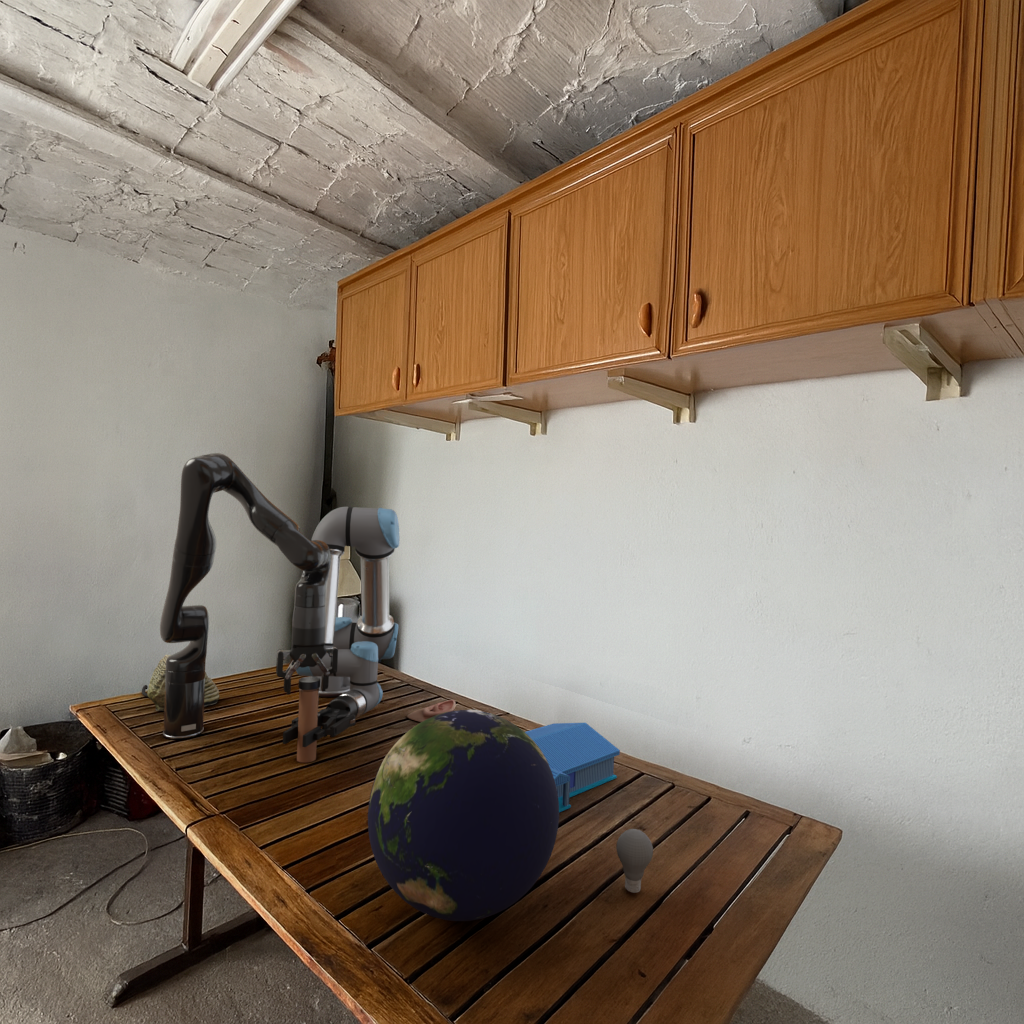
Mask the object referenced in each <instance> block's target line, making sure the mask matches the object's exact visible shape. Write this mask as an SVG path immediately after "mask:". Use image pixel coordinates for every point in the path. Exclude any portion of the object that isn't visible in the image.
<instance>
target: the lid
mask: <svg viewBox="0 0 1024 1024" xmlns="http://www.w3.org/2000/svg"><path fill="white" fill-rule="evenodd" d="M319 687H320V678H318V677H310V676H303V677H301V678H299V679H298V687H297V688H298V689H302V690H314V689H318V688H319Z"/></svg>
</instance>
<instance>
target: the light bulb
mask: <svg viewBox="0 0 1024 1024" xmlns="http://www.w3.org/2000/svg"><path fill="white" fill-rule="evenodd" d="M615 849H616V854H617V857H618V859H619V861H620V863H621V865H622V867H623V873H624V874H623V875H624V876H625V878H624V888H625V890H627V891H628V892H630V893H634V894H635V893H639V892H640V891H641V889H642V887H641V886H642V879H643V877H644V875H645V871H646V868H647V867H648V866H649V864H650V863H651V861H652V859H653V855H654V847H653V843H652V841H651V838H649V836H648V835H647V834H646V833H645V832H643V831H642V830H641V829H636V828H629V829H627V830H625V831H623V832H622V833H621V834H620V835H619V837H618V839H617V841H616V847H615Z"/></svg>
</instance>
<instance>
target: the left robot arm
mask: <svg viewBox="0 0 1024 1024" xmlns="http://www.w3.org/2000/svg"><path fill="white" fill-rule="evenodd" d="M180 478H181V479H180V500H179V503H180V504H179V505H180V506H179V514H178V520H177V521H178V522H177V528H176V529H177V530H176V537H175V540H174V545H173V551H172V552H173V553H172V561H171V569H170V577H169V583H168V589H167V592H166V596H165V599H164V603H163V608H162V612H161V616H160V623H159V634H160V635H159V636H160V638H161V640H162V641H163V642H164V643H166V644H178V643H188V645H186V647H185V646H184V648H183V649H180V650H179V651H177V652H175V653H173V654H170V655H171V656H169V657H168V658H167V660H166V674H165V705H164V710H163V731H162V737H164V738H166V739H169V740H185V739H190V738H191V739H192V738H194V737H197V736H199V735H202V734H203V732H204V730H205V729H204V722H205V721H204V718H205V706H204V693H205V672H206V664H207V663H206V660H207V653H208V639H209V630H210V628H209V627H210V615H209V610H208V609H207V607H206V606H205V605H203V604H198V605H197V604H195V605H193V604H192V605H184V603H185V601H186V600H187V597H188V596H189V594H190V593H191V592H192V591H193V590H194V589H195V588H196V587H197V586H198V585H199V584H200V583H201V582H202V580H204V578H206V576H208V574H209V573H210V571H211V570H212V568H213V566H214V561H215V556H216V549H217V537H216V534H215V531H214V530H213V527H212V525H211V522H210V517H209V512H210V505H211V501H212V498H213V496H214V494H215V493H218V492H222V491H224V492H225V493H227V494H229V495H230V496H231V497H233V498H234V499H235V500H236V501H238V502H239V504H240V505H241V506H242V508H243V509H244V511H245V513H246V516H247V518H248V519H249V521H250V524H252V526H253V528H255V529H256V531H258V533H260V534H261V536H264V537H265V538H266V539H267V540H269V541H270V542H271V543H272V544H274V545H275V546H276V547H277V549H278V550H279V551H280V552H281V553H282V555H283V556H284V557H285V558H286V559H287V560H288V561H289V562H290V564H292V565H293V566H294V567H295V568H297V569H298V570H300V571H301V576H300V579H299V581H298V582H297V583H296V584H295V589H294V607H293V611H292V612H293V613H292V619H291V624H292V628H291V646H290V649H288V650H287V649H286V650H282V649H280V648H279V649H277V651H276V665H275V668H276V669H275V674H276V676H277V677H278V678H282V679H283V691H284V693H286V695H287V696H288V695H291V693H292V692H291V691H292V690H291V689H292V676H293V675H294V673H296V670H297V669H298V667H301V668H304V667H307V666H309V667H315V666H316V665H318V666H319V668H320V669H321V671H322V672H323V675H322V680H321V690H322V692H325V691H326V689H328V684H329V675H330V674H333V673H336V672H337V664H338V650H337V648H336V647H334V646H333V647H332V648H325V624H326V611H325V598H326V583H327V580H328V575H329V571H330V566H331V551H330V548H329V546H328V545H327V544H326V543H325V542H323V541H321V540H312V539H311V540H310V539H309V538H307V536H305V535H304V534H303V533H302V532H301V527H300V525H299V524H298V523H296V521H295V520H294V519H292V517H290V516H288V515H287V514H286V513H285V512H283V511H282V510H281V509H280V508H278V507H277V505H275V504H274V503H273V502H271V500H269V498H267V497H266V496H265V495H264V494H263V493H262V491H261V490H260V489H259V488H258V487H257V486H256V485H255V484H254V483H253V482H252V481H251V479H250V478H249V477H248V476H247V475H246V474H245V473H244V471H242V469H241V468H240V467H239V466H238V464H236V463H235V462H234V461H233V460H232V459H231V458H230V457H229V456H228V455H226V454H224V453H222V452H221V453H220V452H212V453H207V454H202V455H199V456H194V457H192V458H190V459H188V460H187V461H186V462H185V463H184V465H183V467H182V471H181V477H180ZM326 653H328V655H329V657H331V666H330V668H326V667H325V665H324V664H323V662H322V661H321V659H322V658H323V657H324V655H325V654H326ZM288 656H289V657H290V658H291V659H292V661H291V662H290V664H289V665H288V667H287V668H286V669H285V670H284V661H286V659H287V657H288ZM142 686H143V687H142V688H141V695H142V696H144V697H146V698H149V697H148V695H147V694H148V692H146V690H148V688H149V685H147V684H144V685H142Z"/></svg>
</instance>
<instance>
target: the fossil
mask: <svg viewBox="0 0 1024 1024" xmlns="http://www.w3.org/2000/svg"><path fill="white" fill-rule="evenodd" d="M171 655H172V654H165V655H164V656H163V657H162V658H161V659H160V660H159V662H158V663H157V666H156V667H155V669H154V670H153V672H152V675H151V677H150V680H149V684H148V688H147V695H148V697H147V698H148V699H149V700H150V701H152V703H153V704H154V706H155V711H158V712H159V711H162V712H163V711H164V705H165V674H166V660H167V658H168V657H169V656H171ZM220 698H221V696H220V690H219V688H218V686H217V685H216V683H215V682H214V681H213V679H212V678H211V677H209V675H208V674H207V672H206V671H205V693H204V707H207V706H213V705H215V704H217V703H218V701H219V699H220Z"/></svg>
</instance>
